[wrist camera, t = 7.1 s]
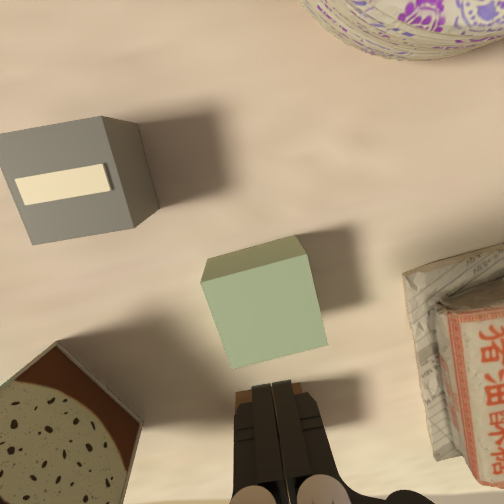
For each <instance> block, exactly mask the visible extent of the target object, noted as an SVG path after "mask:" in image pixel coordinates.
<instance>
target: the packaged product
mask: <svg viewBox="0 0 504 504" xmlns="http://www.w3.org/2000/svg"><path fill="white" fill-rule="evenodd" d="M402 279H403V287H404V294H405V300H406V306H407V311H408V317H409V322H410V326H411V329H412V333H413V340H414V347H415V354H416V361H417V367H418V374H419V385H420V390H421V396H422V399H423V402H424V405H425V408H426V418H427V426H428V431H429V436H430V440H431V444H432V448H433V455H434V459H435V460H436V461H437V462H438V461H440V460H444V459H448V458H453V457H458V456H463V457H464V458H465V461H466V464H467V465H468V467H469V469H470V470H471V472H472V474H473V476H474V477H475V479H476V480H477V481H478V482H479V483H480V484H482V485H485V486H491V487H498V488H500V489H504V243H502V244H499V245H495V246H492V247H488V248H484V249H480V250H477V251H473V252H469V253H466V254H462V255H458V256H455V257H451V258H448V259H444V260H440V261H437V262H433V263H430V264H427V265H423V266H420V267H418V268H415V269H413V270H410V271H407V272H405V273H402Z"/></svg>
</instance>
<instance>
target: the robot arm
mask: <svg viewBox="0 0 504 504" xmlns="http://www.w3.org/2000/svg"><path fill="white" fill-rule="evenodd" d="M272 387H273V394H274V400H273V395H272V389H271V384H270V383H269V384H263V385H257V386H252V402H247V403H242V404H239V406H238V409H237V411H236V413H235V415H234V474H233V494H232V498H231V501H230V503H229V504H290V503H291V504H434V503H433V502H432V501H430V500H429V499H427V498H426V497H424V496H423V495H421V494H419V493H417V492H414V491H410V490H399V491H395V492H393V493H392V494H390V495H389V496H388V497H387V499H386V500H383V499H378V498H373V497H368V496H364V495H361V494H359V493H357V492H355V491H353V490H352V489H351V488H349V487H348V486H347V485H346V484H345V483H344V482H343V480H342V479H341V477H340V475H339V473H338V471H337V468H336V465H335V461H334V458H333V455H332V452H331V448H330V445H329V442H328V439H327V435H326V432H325V429H324V426H323V422H322V419H321V416H320V413H319V409H318V406H317V403H316V401H315V400H314V399H313V398H312V397H311V396H310V395H309V394H308V392H306V393H300V394H294V392H293V388H292V384H291V380H286V381H280V382H274V383H272ZM274 401H275V405H274ZM275 408H276V411H275ZM276 415H277V416H276ZM277 421H278V422H277ZM287 487H288V489H287ZM288 492H289V496H288ZM289 497H290V503H289Z"/></svg>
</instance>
